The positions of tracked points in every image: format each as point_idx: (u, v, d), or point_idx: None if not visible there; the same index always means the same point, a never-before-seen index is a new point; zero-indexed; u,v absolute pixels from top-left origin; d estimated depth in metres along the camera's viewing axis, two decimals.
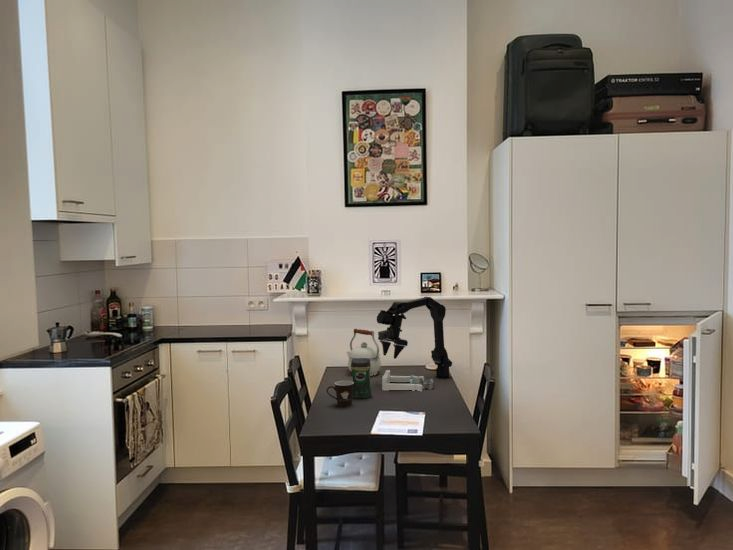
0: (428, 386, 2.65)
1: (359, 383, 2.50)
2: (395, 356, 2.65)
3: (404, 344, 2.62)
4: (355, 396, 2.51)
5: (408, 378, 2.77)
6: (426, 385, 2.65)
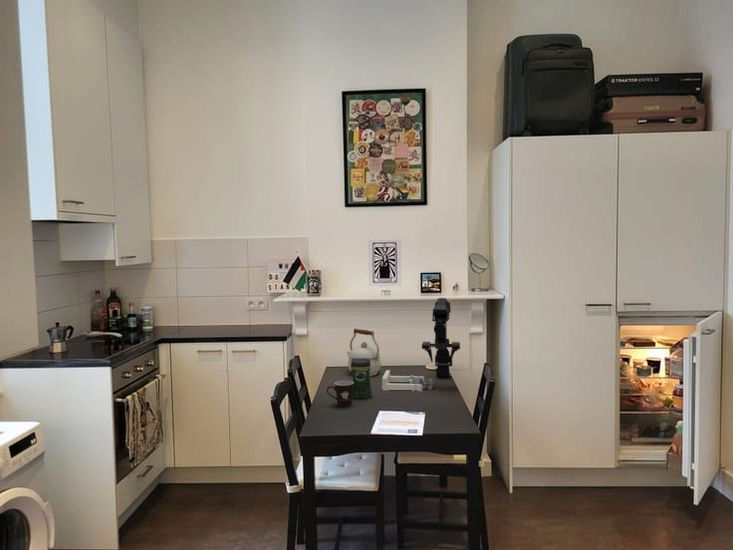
0: (428, 386, 2.65)
1: (359, 383, 2.50)
2: (451, 360, 2.66)
3: None
4: (355, 396, 2.51)
5: (408, 378, 2.77)
6: (426, 385, 2.65)
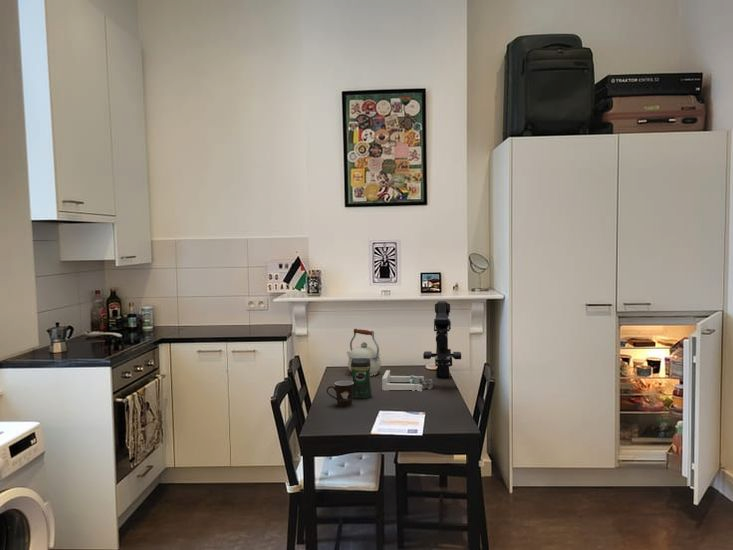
0: (428, 386, 2.65)
1: (359, 383, 2.50)
2: (443, 370, 2.67)
3: None
4: (355, 396, 2.51)
5: (408, 378, 2.77)
6: (426, 385, 2.65)
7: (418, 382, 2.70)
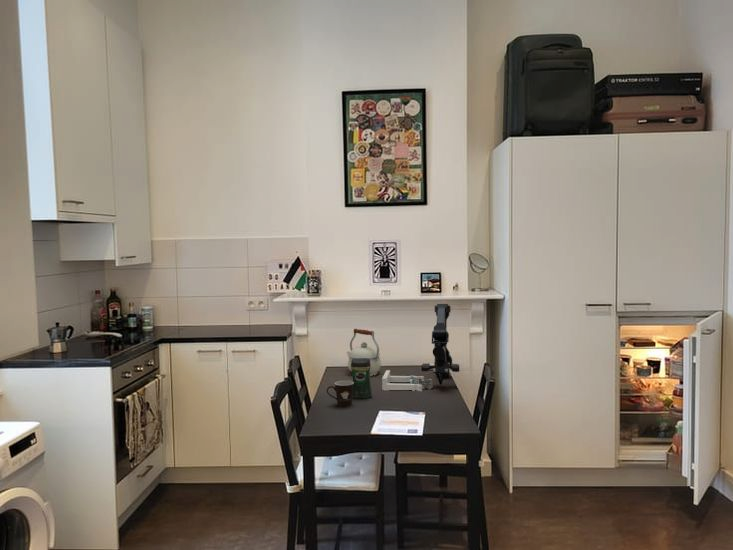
0: (428, 386, 2.65)
1: (359, 383, 2.50)
2: None
3: None
4: (355, 396, 2.51)
5: (408, 378, 2.77)
6: (426, 385, 2.65)
7: (418, 382, 2.70)
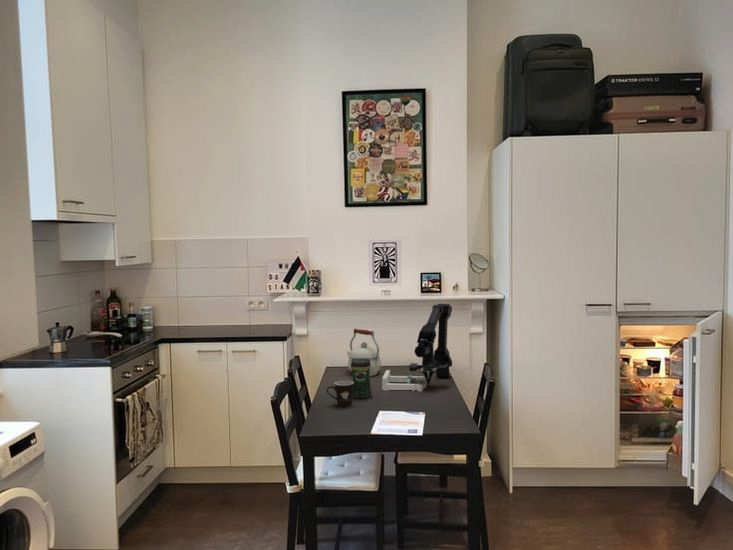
0: None
1: (359, 383, 2.50)
2: (429, 382, 2.69)
3: None
4: (355, 396, 2.51)
5: None
6: None
7: (412, 382, 2.70)
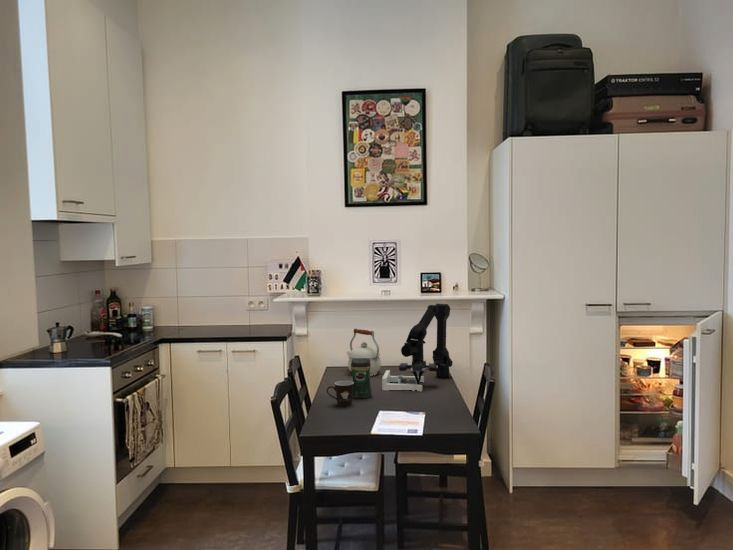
0: None
1: (359, 383, 2.50)
2: (419, 381, 2.70)
3: None
4: (355, 396, 2.51)
5: (408, 378, 2.77)
6: None
7: (402, 382, 2.71)
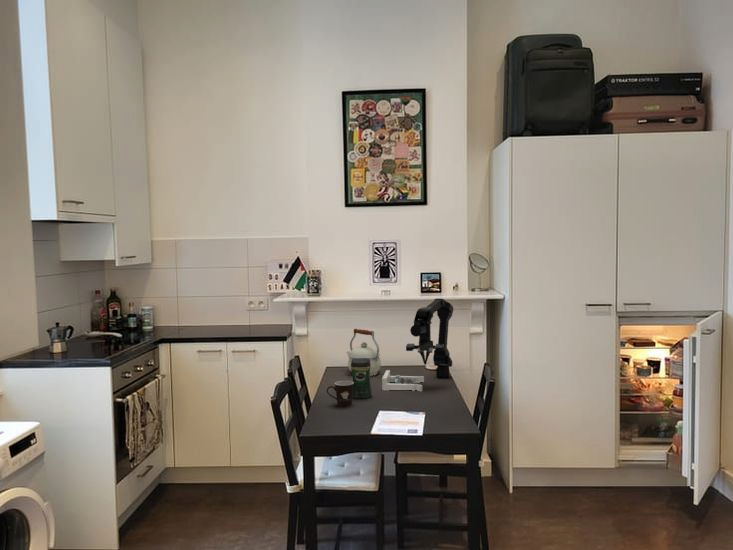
0: None
1: (359, 383, 2.50)
2: (426, 362, 2.68)
3: None
4: (355, 396, 2.51)
5: (408, 378, 2.77)
6: None
7: None
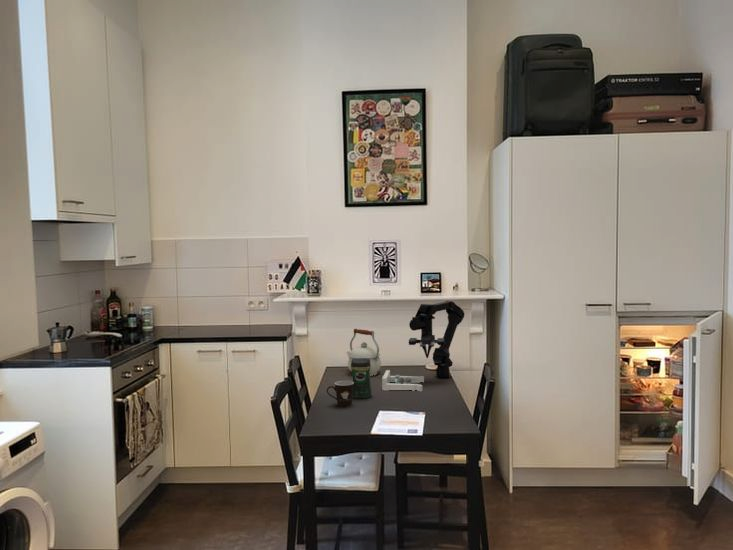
0: None
1: (359, 383, 2.50)
2: (428, 355, 2.78)
3: None
4: (355, 396, 2.51)
5: (408, 378, 2.77)
6: None
7: None
